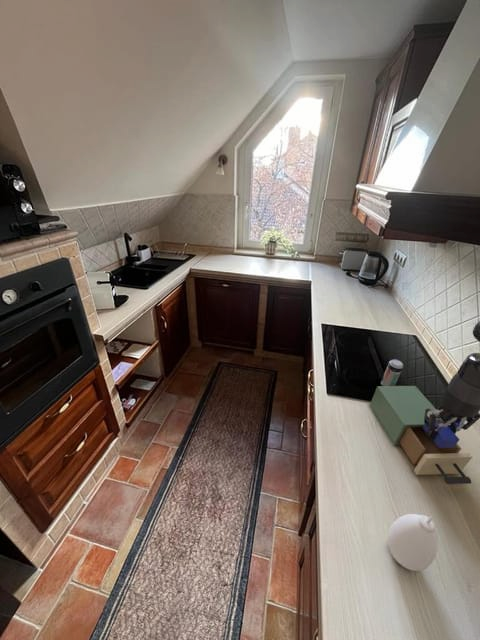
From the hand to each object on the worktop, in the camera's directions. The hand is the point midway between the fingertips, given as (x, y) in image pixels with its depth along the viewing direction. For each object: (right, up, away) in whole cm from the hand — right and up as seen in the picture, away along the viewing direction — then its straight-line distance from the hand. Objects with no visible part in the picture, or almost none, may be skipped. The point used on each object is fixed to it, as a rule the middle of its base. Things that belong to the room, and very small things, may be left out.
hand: (438, 436), depth 71 cm
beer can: (+4, +6, +32) cm, 33 cm away
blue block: (0, 0, 0) cm, 0 cm away
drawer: (0, -8, +4) cm, 9 cm away
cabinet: (-1, -3, +16) cm, 16 cm away
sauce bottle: (-20, -20, -15) cm, 32 cm away
